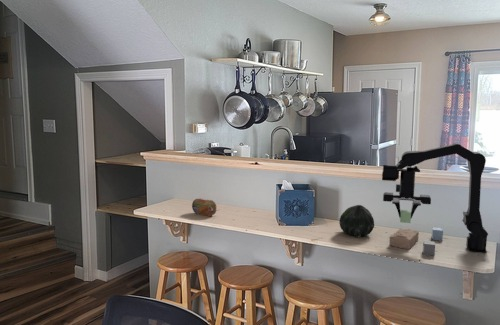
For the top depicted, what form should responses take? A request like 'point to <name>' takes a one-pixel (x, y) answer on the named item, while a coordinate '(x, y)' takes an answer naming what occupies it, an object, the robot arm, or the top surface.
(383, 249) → the top surface
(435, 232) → the bluegrey block
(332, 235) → the top surface
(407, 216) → the green block
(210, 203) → the tin
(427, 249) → the charcoal block
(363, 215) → the squash
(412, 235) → the brick
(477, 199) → the robot arm
